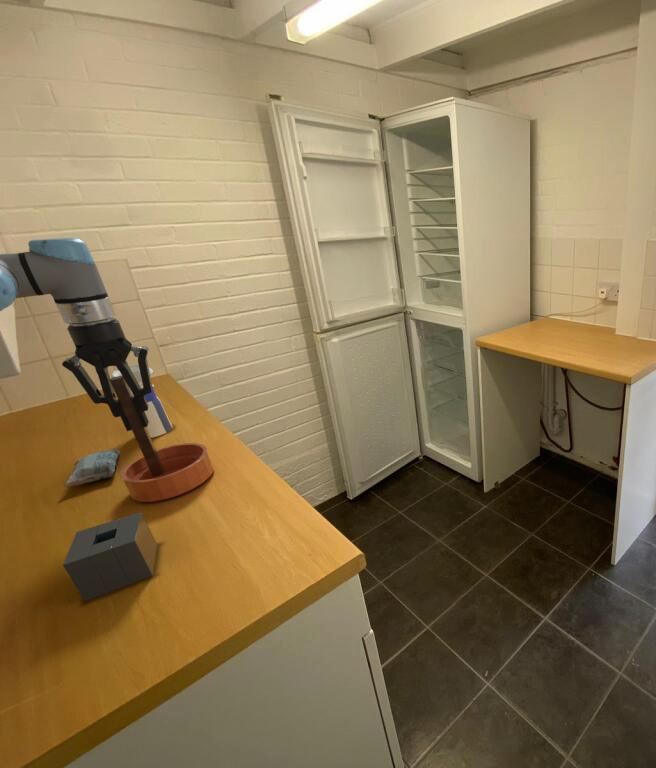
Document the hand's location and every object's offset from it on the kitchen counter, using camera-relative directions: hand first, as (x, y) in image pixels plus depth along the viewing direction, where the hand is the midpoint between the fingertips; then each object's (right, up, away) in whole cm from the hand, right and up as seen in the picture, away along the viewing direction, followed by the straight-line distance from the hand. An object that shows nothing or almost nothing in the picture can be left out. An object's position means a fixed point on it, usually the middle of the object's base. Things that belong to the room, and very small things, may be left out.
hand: (138, 426), depth 91 cm
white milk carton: (-21, -5, +29) cm, 36 cm away
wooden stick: (0, -11, +5) cm, 12 cm away
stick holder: (+13, -24, -17) cm, 32 cm away
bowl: (+3, -14, +6) cm, 16 cm away
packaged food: (-19, -13, +10) cm, 25 cm away
